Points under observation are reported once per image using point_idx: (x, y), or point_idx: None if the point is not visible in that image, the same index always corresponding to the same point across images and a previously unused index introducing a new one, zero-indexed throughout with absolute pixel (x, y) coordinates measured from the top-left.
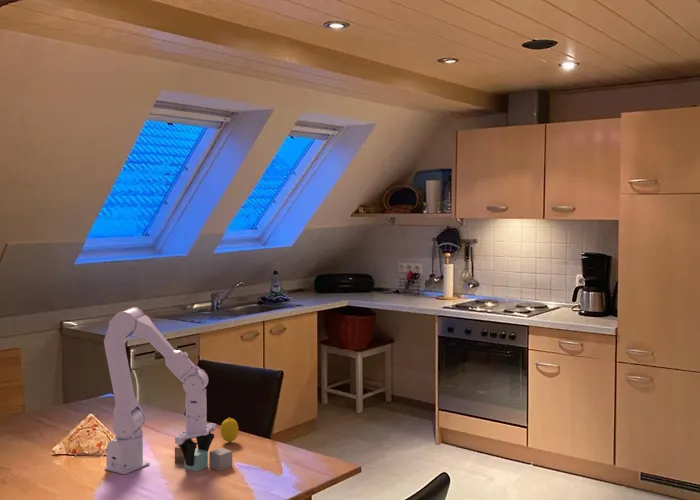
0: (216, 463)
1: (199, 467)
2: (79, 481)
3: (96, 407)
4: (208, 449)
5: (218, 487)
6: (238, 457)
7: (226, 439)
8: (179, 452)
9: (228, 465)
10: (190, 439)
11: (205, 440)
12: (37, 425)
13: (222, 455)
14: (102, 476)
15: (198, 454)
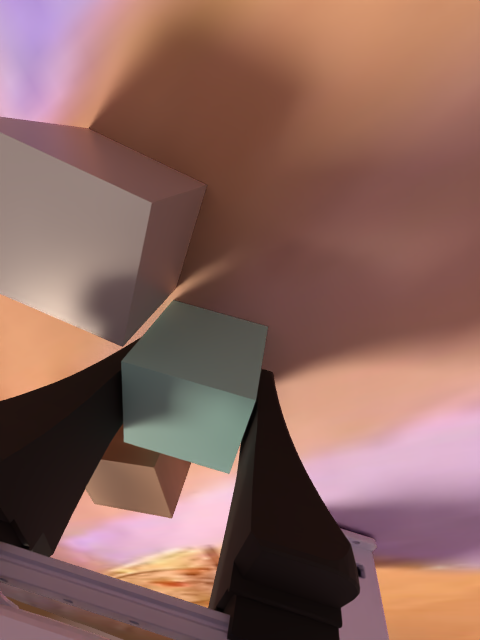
0: (178, 233)
1: (242, 329)
2: (443, 598)
3: (26, 592)
4: (92, 368)
5: None
6: None
7: None
8: (177, 476)
9: (115, 146)
10: (253, 632)
11: (54, 457)
12: (146, 631)
13: (118, 183)
14: (393, 570)
15: (221, 398)
